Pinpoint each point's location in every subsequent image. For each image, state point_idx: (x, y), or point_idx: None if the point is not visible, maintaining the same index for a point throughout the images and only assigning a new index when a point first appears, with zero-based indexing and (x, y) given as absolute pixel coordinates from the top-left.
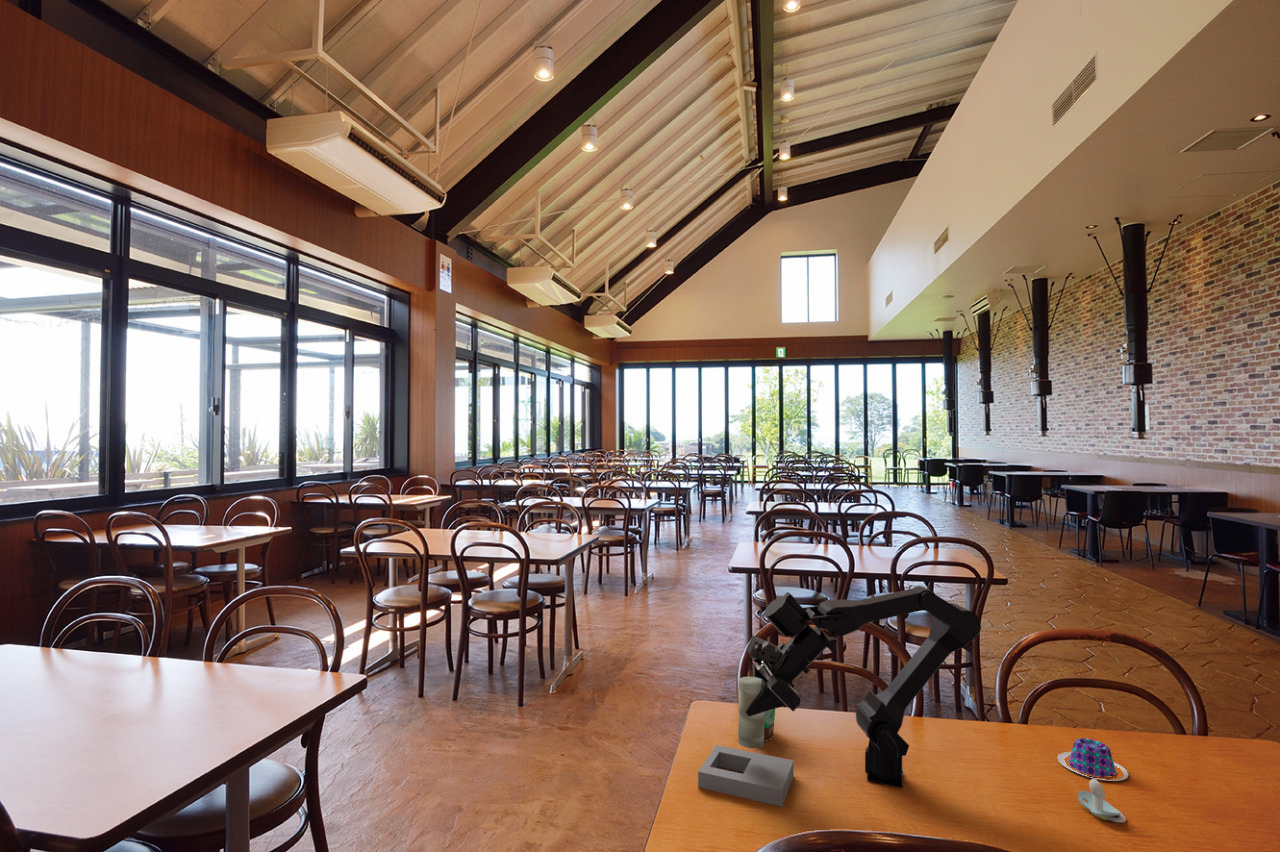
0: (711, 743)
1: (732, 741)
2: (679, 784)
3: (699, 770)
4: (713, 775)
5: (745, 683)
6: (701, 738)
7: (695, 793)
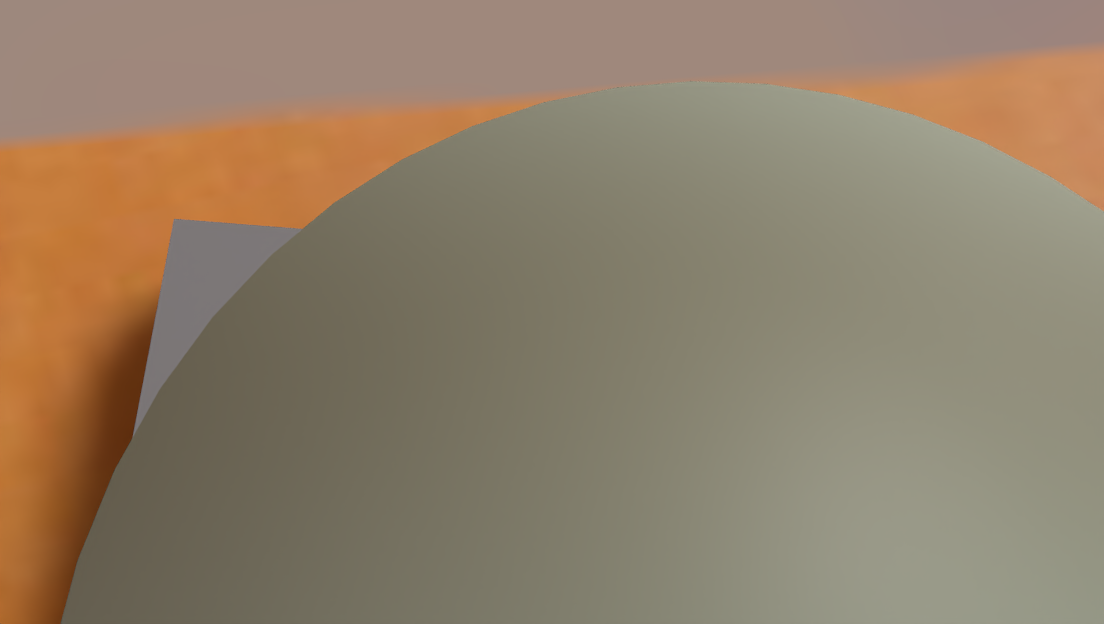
0: None
1: None
2: (216, 135)
3: (198, 225)
4: (149, 361)
5: (316, 441)
6: (1005, 133)
7: (113, 273)
